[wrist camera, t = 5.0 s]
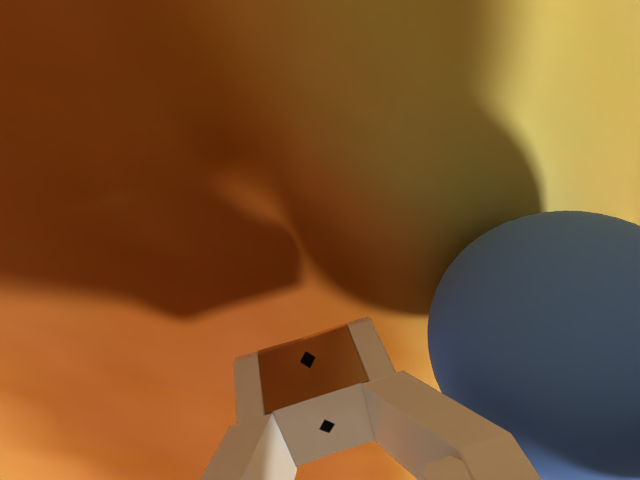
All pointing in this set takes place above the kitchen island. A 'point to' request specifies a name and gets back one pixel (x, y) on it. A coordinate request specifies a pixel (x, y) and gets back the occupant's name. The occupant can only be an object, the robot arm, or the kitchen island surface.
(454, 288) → the ball
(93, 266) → the kitchen island surface
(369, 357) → the robot arm
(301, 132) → the kitchen island surface
